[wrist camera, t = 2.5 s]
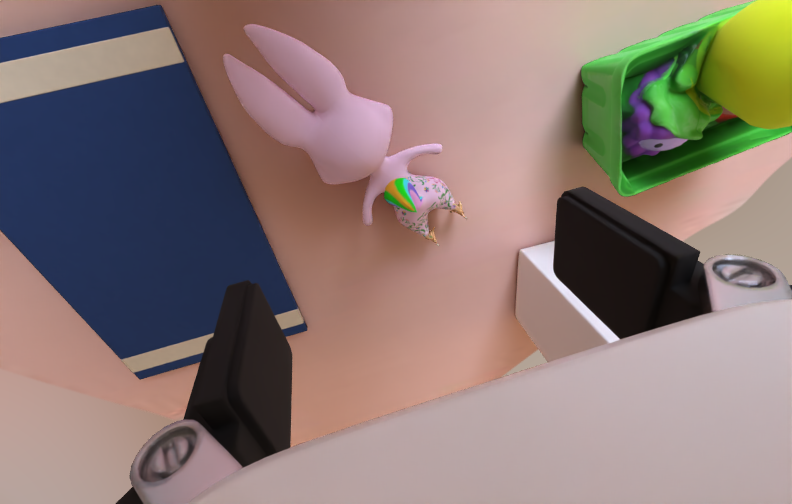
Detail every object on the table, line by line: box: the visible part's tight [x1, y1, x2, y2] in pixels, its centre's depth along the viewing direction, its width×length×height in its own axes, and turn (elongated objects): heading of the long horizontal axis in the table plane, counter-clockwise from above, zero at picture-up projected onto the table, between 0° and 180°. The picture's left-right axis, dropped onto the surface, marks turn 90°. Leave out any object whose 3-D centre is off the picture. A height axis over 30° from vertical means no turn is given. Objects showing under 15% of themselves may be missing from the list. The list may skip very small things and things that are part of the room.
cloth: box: [0, 5, 307, 379], centre depth 21 cm, size 20×12×1 cm, turn 11°
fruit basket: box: [581, 0, 792, 197], centre depth 18 cm, size 11×9×11 cm
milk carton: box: [515, 241, 620, 362], centre depth 22 cm, size 7×7×19 cm
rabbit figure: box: [223, 24, 467, 246], centre depth 19 cm, size 6×6×15 cm
